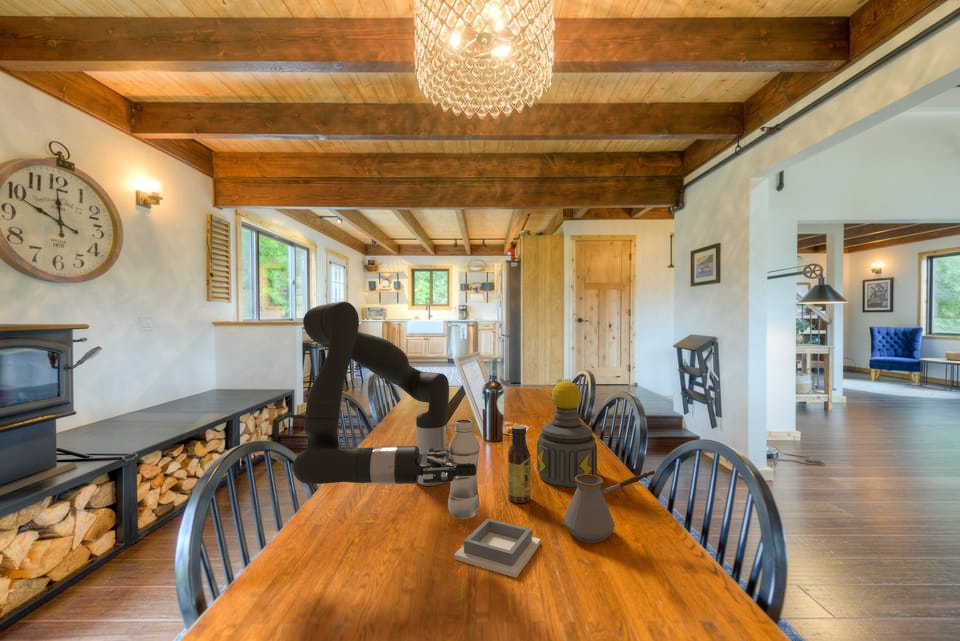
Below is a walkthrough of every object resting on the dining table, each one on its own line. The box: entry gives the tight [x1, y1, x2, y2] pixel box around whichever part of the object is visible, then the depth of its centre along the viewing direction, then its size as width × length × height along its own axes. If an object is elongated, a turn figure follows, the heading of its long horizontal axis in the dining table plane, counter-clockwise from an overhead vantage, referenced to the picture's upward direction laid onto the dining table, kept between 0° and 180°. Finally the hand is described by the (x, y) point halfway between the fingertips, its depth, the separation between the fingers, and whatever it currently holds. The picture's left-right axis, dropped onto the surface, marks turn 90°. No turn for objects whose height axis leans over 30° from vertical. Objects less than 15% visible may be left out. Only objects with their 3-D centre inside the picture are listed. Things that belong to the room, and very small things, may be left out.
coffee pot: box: [563, 470, 659, 544], centre depth 98 cm, size 21×12×15 cm, turn 87°
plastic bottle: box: [447, 418, 481, 520], centre depth 90 cm, size 6×7×20 cm
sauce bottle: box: [507, 425, 531, 504], centre depth 118 cm, size 7×6×20 cm
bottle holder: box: [453, 518, 542, 579], centre depth 92 cm, size 14×14×4 cm
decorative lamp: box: [536, 380, 598, 488], centre depth 134 cm, size 19×19×30 cm
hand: (475, 463), depth 90 cm, fingers closed on plastic bottle, 6 cm apart
